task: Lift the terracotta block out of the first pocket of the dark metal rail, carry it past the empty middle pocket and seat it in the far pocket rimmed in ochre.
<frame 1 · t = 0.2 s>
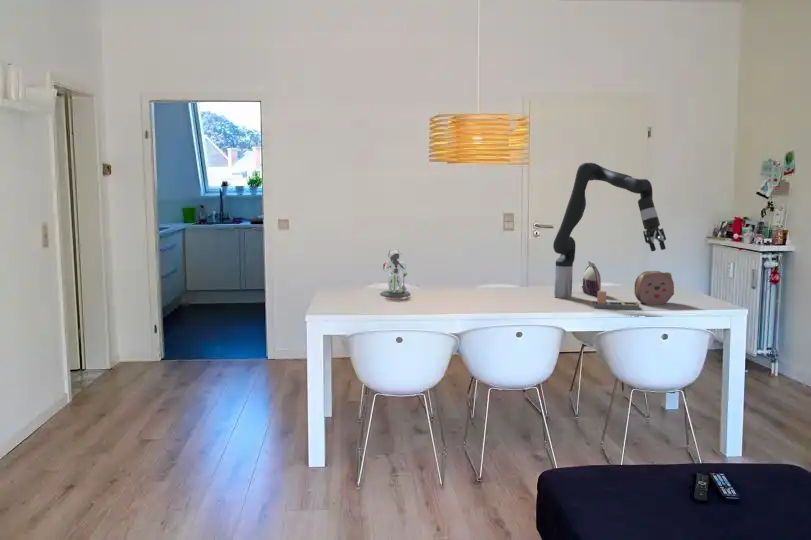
hand: (658, 250, 354), 31 cm above the table, tool tilted 20°, fingers open, 8 cm apart
pouch: (591, 295, 408), on the table
rail: (615, 307, 372), on the table
face sculpture: (653, 303, 384), on the table
block: (601, 306, 373), resting in rail
figurine: (395, 294, 406), on the table
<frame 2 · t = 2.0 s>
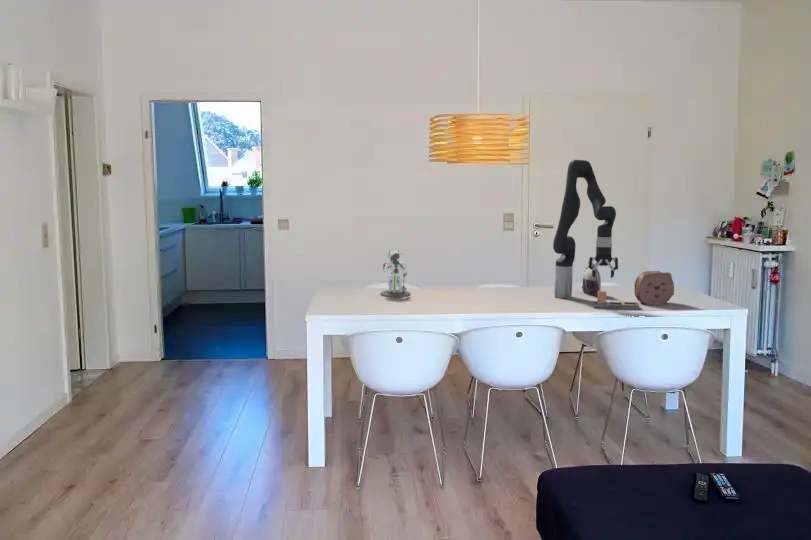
hand: (602, 277, 371), 15 cm above the table, tool pointing down, fingers open, 8 cm apart
nothing on the table moved.
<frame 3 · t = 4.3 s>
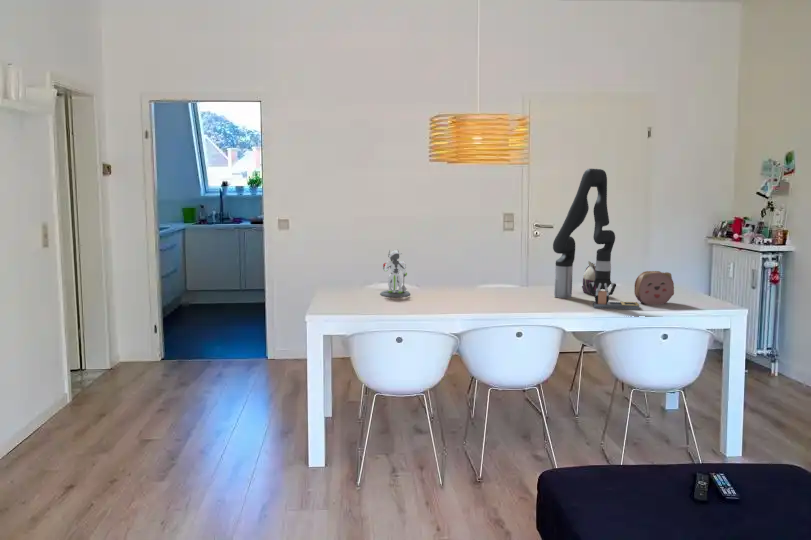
hand: (601, 302, 372), 2 cm above the table, tool pointing down, fingers closed on block, 4 cm apart
block: (601, 306, 373), resting in rail, touching gripper
everything else where it was.
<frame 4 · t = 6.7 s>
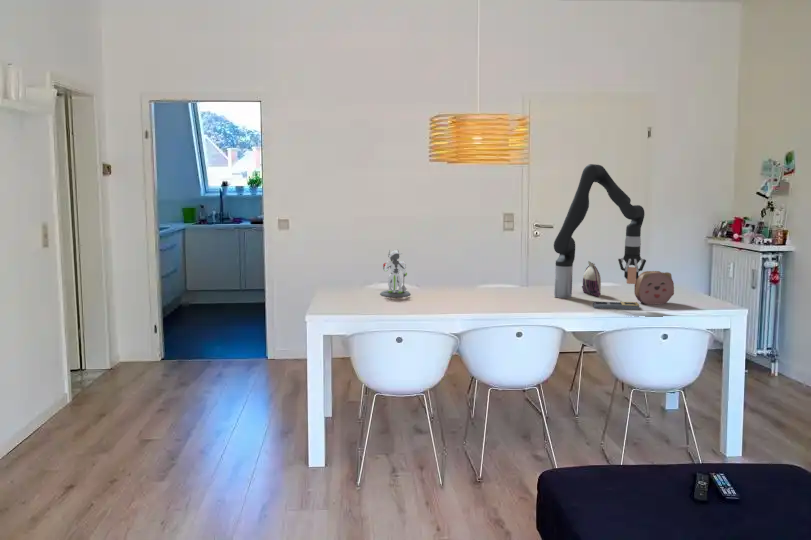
hand: (631, 278, 368), 15 cm above the table, tool pointing down, fingers closed on block, 4 cm apart
block: (630, 283, 369), point 13 cm above the table, touching gripper
everything else where it was.
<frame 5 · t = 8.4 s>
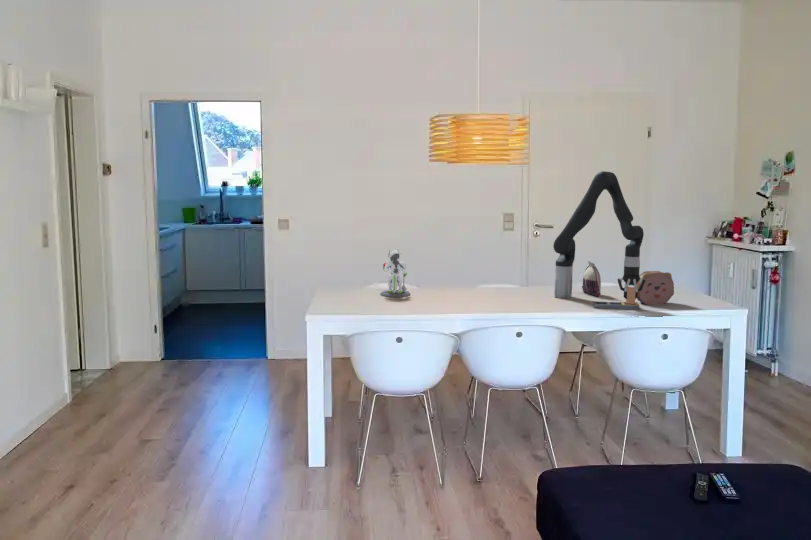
hand: (630, 298, 370), 5 cm above the table, tool pointing down, fingers closed on block, 4 cm apart
block: (630, 303, 370), point 2 cm above the table, touching gripper
everything else where it was.
when the fingers open (4 cm above the table, at t = 9.4 s): block drops 1 cm, resting in rail.
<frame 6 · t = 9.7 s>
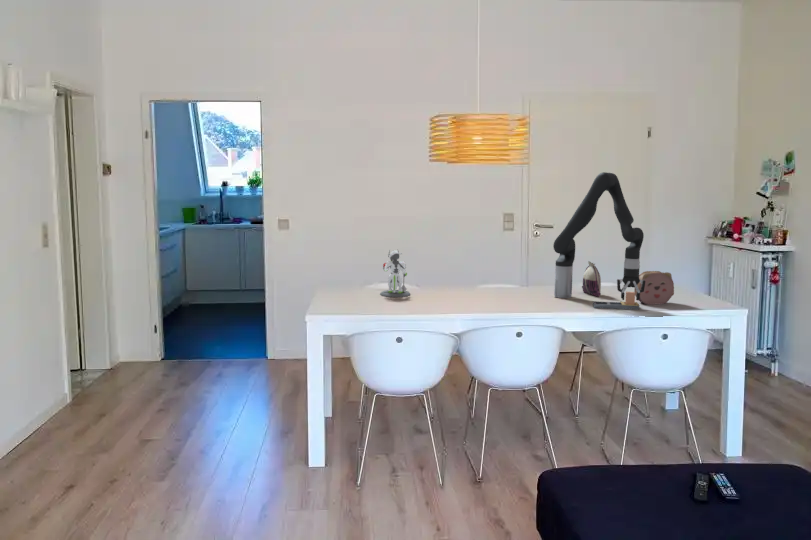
hand: (630, 299, 370), 4 cm above the table, tool pointing down, fingers open, 6 cm apart
block: (629, 307, 371), resting in rail
everything else where it was.
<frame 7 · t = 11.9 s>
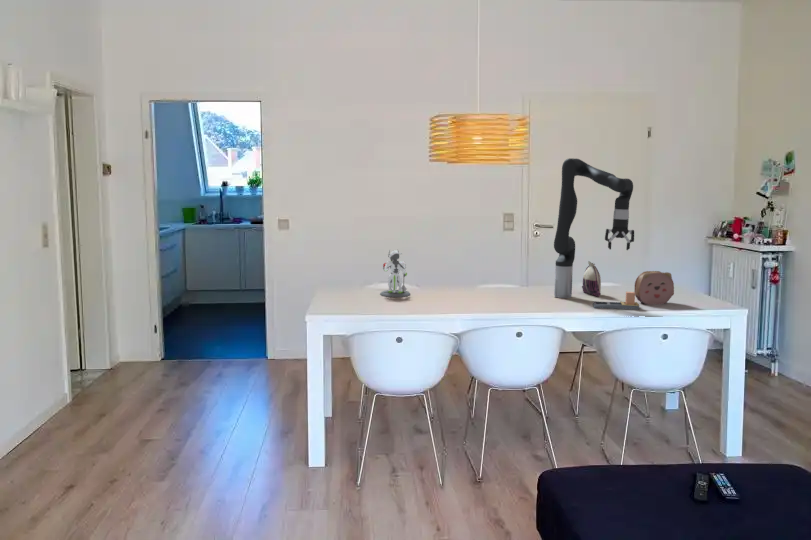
hand: (618, 249, 373), 29 cm above the table, tool pointing down, fingers open, 8 cm apart
nothing on the table moved.
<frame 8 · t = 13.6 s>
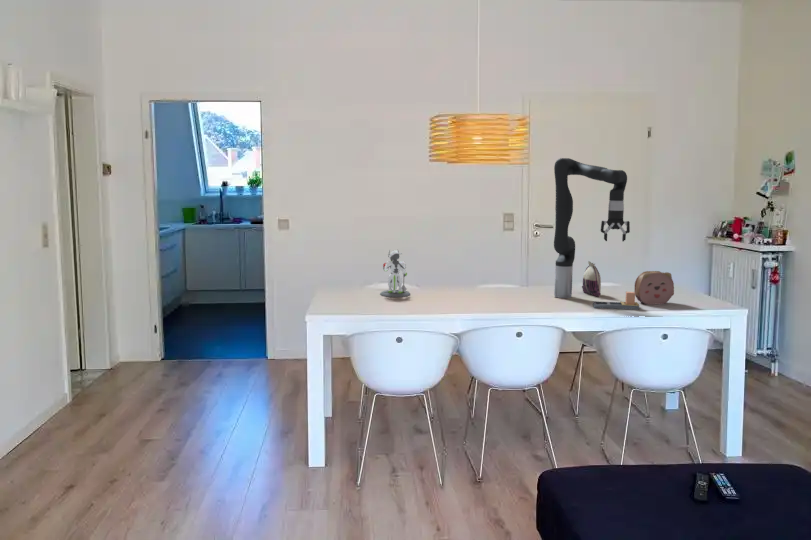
hand: (614, 241, 375), 33 cm above the table, tool pointing down, fingers open, 8 cm apart
nothing on the table moved.
at the end: block 0.0 cm from the target spot on the rail, point 0.0 cm above the rail's base; block tilted 0°; the gripper is holding nothing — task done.
